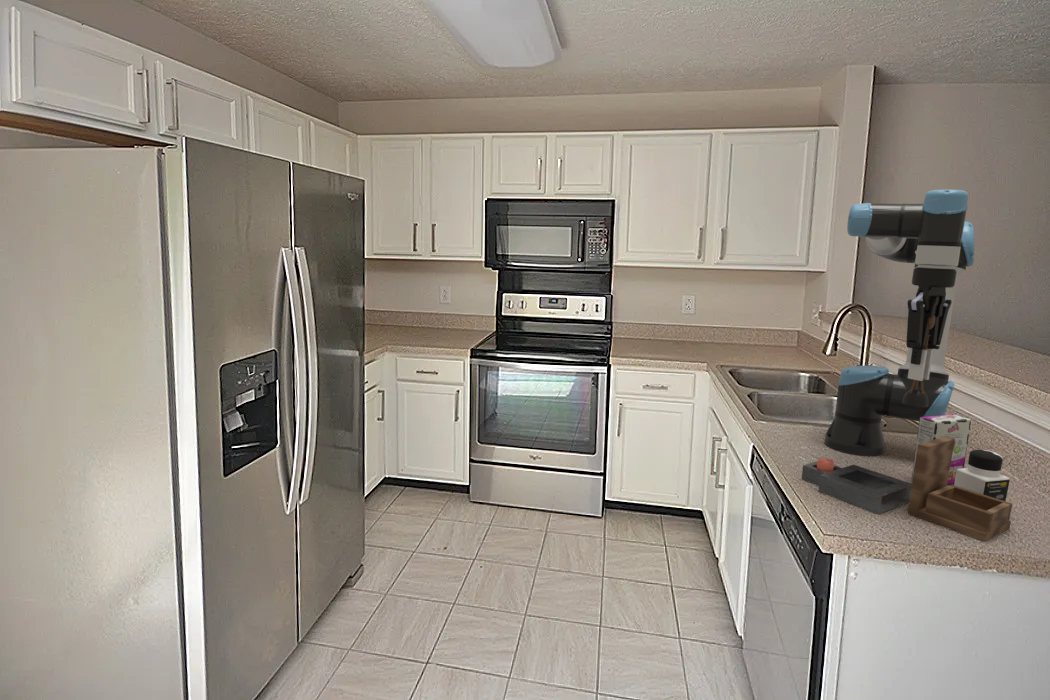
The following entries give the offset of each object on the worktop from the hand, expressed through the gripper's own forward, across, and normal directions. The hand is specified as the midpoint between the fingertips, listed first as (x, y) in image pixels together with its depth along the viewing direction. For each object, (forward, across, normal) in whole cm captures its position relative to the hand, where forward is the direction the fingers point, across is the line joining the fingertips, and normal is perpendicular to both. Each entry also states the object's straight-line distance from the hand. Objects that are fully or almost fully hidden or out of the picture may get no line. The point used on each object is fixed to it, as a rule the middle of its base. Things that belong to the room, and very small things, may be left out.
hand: (918, 378), depth 134 cm
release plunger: (+28, +2, -17) cm, 33 cm away
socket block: (+29, +2, -10) cm, 31 cm away
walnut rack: (+29, -4, +10) cm, 31 cm away
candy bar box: (+29, -24, -4) cm, 37 cm away
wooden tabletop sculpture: (+6, 0, 0) cm, 6 cm away
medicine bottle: (+29, -19, +8) cm, 35 cm away
